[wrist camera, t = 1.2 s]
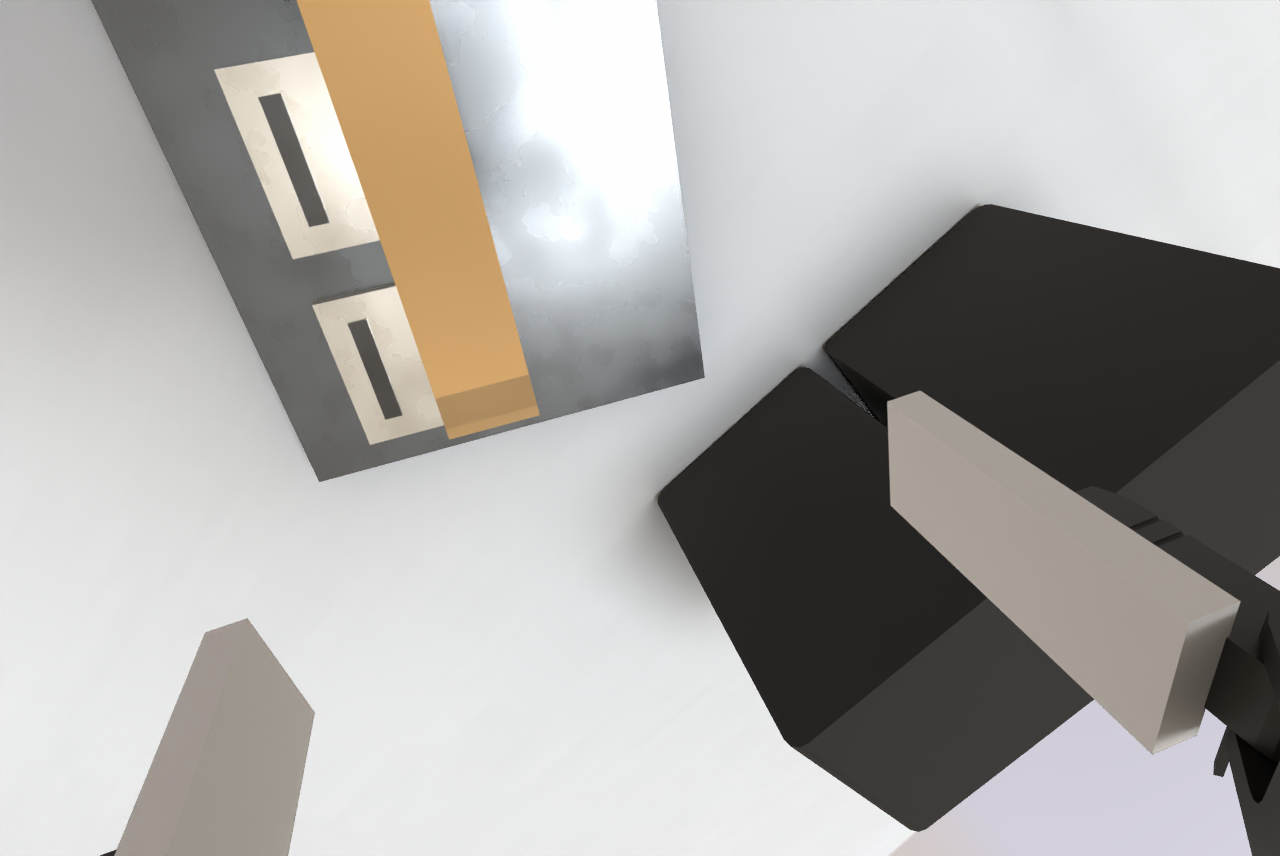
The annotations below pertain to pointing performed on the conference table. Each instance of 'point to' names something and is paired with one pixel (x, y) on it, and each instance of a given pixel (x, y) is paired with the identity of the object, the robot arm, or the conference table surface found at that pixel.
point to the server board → (509, 185)
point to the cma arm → (424, 203)
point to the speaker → (1021, 421)
